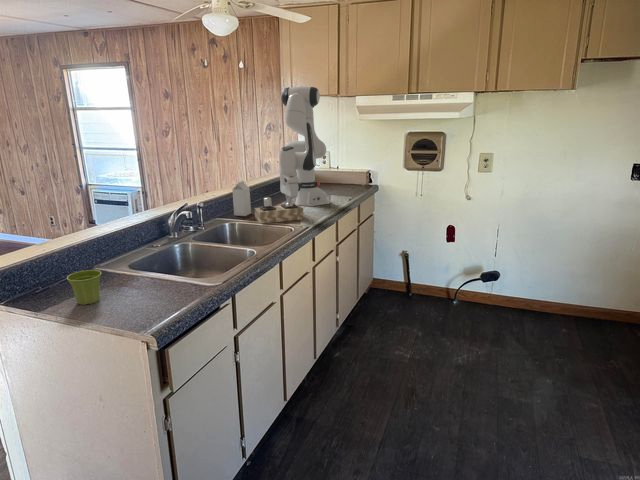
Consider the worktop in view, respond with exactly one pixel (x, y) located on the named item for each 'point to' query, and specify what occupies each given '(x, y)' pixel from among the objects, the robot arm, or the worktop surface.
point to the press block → (278, 213)
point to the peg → (267, 203)
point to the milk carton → (241, 199)
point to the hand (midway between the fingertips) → (289, 203)
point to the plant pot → (85, 286)
